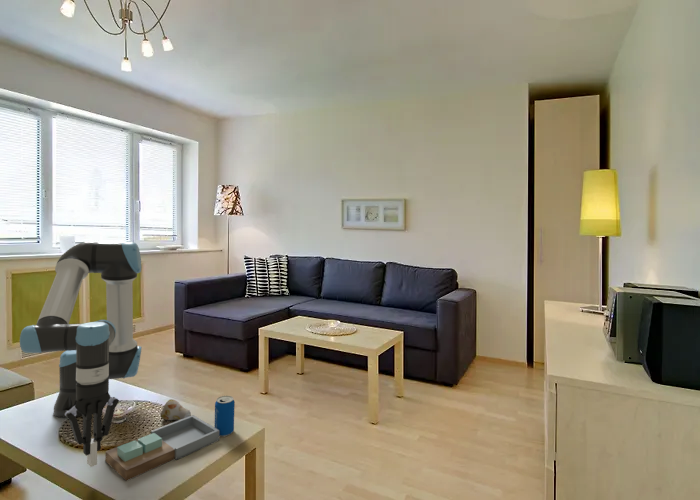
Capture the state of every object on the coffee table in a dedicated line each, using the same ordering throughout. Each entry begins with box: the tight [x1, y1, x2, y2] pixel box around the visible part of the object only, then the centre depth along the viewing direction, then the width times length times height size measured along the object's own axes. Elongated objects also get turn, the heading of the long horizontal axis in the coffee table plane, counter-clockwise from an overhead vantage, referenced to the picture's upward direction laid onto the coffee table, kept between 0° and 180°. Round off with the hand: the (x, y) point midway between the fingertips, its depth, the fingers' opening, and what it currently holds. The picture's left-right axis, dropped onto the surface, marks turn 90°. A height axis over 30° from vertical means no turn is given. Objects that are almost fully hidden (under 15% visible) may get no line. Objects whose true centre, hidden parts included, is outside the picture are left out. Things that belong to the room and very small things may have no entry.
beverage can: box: [213, 395, 236, 437], centre depth 137 cm, size 6×6×12 cm
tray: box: [150, 414, 220, 461], centre depth 131 cm, size 16×15×4 cm
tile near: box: [116, 439, 143, 461], centre depth 117 cm, size 5×5×2 cm
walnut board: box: [104, 438, 175, 482], centre depth 120 cm, size 14×14×3 cm
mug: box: [160, 399, 192, 421], centre depth 146 cm, size 8×10×10 cm
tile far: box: [137, 433, 162, 453], centre depth 122 cm, size 5×5×2 cm
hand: (92, 463), depth 109 cm, fingers closed
